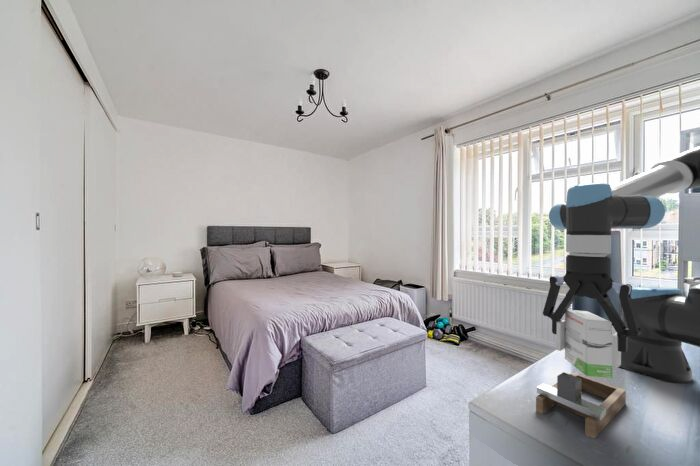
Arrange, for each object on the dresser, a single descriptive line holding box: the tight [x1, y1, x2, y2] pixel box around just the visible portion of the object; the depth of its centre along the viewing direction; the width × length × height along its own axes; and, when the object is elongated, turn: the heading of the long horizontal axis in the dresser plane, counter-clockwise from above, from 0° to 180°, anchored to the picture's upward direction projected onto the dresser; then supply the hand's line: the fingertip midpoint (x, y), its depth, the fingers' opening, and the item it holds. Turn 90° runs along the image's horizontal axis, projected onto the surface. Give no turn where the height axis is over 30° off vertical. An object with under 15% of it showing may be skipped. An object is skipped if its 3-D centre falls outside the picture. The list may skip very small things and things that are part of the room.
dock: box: [535, 371, 627, 439], centre depth 59 cm, size 20×9×3 cm, turn 123°
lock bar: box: [536, 372, 606, 421], centre depth 56 cm, size 3×10×5 cm, turn 33°
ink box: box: [564, 309, 613, 379], centre depth 61 cm, size 9×5×12 cm, turn 167°
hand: (586, 356), depth 61 cm, fingers closed on ink box, 9 cm apart
